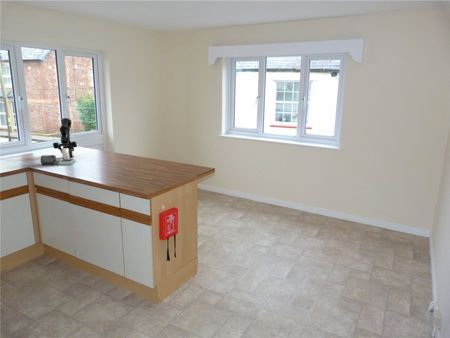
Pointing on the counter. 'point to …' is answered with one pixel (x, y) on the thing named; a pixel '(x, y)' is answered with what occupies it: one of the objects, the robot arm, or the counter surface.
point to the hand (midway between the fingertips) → (65, 152)
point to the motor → (52, 160)
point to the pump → (65, 154)
